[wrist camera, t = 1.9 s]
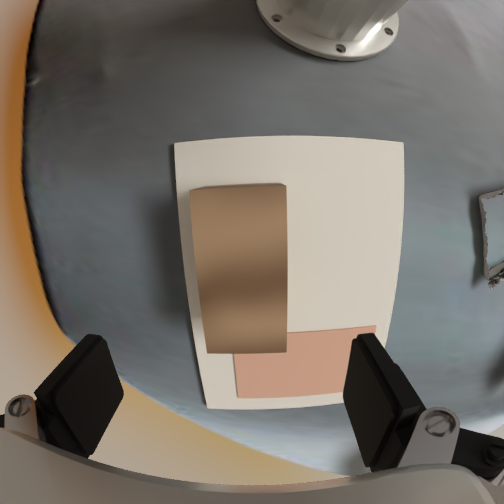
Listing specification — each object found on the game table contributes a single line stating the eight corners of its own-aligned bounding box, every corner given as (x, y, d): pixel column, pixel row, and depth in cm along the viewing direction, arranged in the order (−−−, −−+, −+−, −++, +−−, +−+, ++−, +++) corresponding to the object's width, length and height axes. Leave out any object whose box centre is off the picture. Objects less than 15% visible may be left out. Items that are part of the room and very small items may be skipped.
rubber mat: (176, 143, 20) (173, 142, 19) (399, 143, 19) (404, 142, 19) (208, 404, 27) (207, 409, 26) (369, 394, 27) (371, 399, 26)
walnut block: (205, 186, 20) (189, 190, 16) (279, 182, 20) (286, 185, 15) (216, 319, 23) (207, 353, 19) (281, 317, 23) (286, 352, 18)
